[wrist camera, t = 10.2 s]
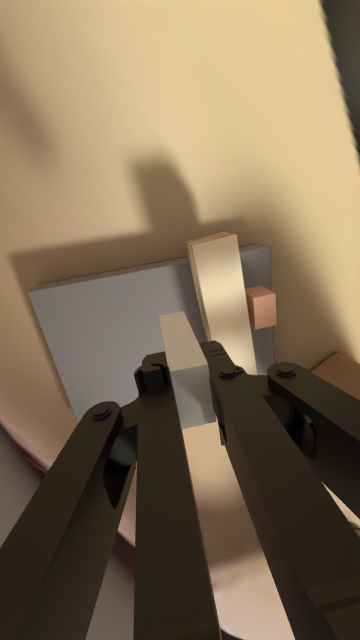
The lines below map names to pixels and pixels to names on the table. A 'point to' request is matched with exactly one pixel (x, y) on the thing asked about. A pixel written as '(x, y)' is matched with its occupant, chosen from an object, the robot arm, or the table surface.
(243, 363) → the folding leg
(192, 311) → the stool seat
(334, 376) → the wooden block
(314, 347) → the table surface
